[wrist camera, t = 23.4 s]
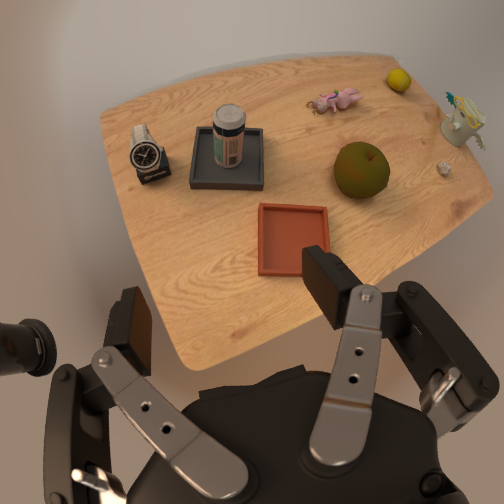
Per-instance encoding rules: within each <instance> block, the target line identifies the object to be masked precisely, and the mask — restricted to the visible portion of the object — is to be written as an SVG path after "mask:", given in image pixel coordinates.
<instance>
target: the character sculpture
mask: <svg viewBox="0 0 504 504" xmlns="http://www.w3.org/2000/svg"><path fill="white" fill-rule="evenodd" d="M446 93H447V95H448V96H447V98H448V100H449V102H451V104H453V105H454V106H455V109H454V111H452V112H451V114H450V115H449V114H447V115H446V116H447V118H446V119H445V120H444V121H443V122H442V123H441V125H440V128H441V131H442V133H443V135H444V136H445V137H446V139H447V140H448V141H449V142H450V143H451V144H452V145H454V146H456V147H460V146H461V145H462V144H463V143H465V142H466V141H467V140H468V139H469V138H470V137H471V136H475V137H476V139H477V141H476V142H478V146H480V147H481V148H482V147H483V148H484V150H485V143H484V140H483V138H482V136H481V135H479V134H477V133H476V132H477V131H478V130H479V129H480V128H481V127H482V126H483V125H484V124H486V119H485V116H484V114H483V113H482V111H481V110H480V109H479V107H478V106H477V105H476V104H475V103H474V102H473V101H471V100H470V99H468V98H464V99H463V98H461V97H458V96H456V97H454V96H453V95H452V94H451V93H449V92H446ZM456 98H458V99H459V100H460V101H461V103H460V104H459V105H457V102H456ZM462 100H463V101H462Z"/></svg>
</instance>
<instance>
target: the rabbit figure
mask: <svg viewBox="0 0 504 504" xmlns="http://www.w3.org/2000/svg"><path fill="white" fill-rule="evenodd" d="M357 93H359V91H358V90H356V89H354V88H347V89H345V90H344V91H337V90H334V91H333V92H332V93H330V94H329V95H328V96H325V95H323V94H319V96H322V97H324V98H317V99H316V100H313V101H310V102H309V103H307V104H306V105H307V107H308V108H309V106H308V105H309V104H310V103H312V105H313V107H315V108H317V109H316V110H317V112H318V113H324V112H325V111H326V110H327V108H328V107H333V108H334V113H336V106H337V107H339V108H341V109H346V108H347V106H348V105H349V104H350V103H352V102H356V101H358V100H360V99H362V98H363V96H362V95H354V94H357ZM350 95H351V96H350ZM316 110H314V111H313V115H315V111H316Z"/></svg>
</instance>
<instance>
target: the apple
mask: <svg viewBox="0 0 504 504" xmlns="http://www.w3.org/2000/svg"><path fill="white" fill-rule="evenodd" d="M334 174H335V179H336V182H337V184H338V187H339V188H340V189H341V190H342V192H343V193H344V194H346V195H347V196H349V197H351V198H357V199H364V198H369V197H373V196H374V195H376V194H377V193H379V192H380V191H382V190H383V189H384V188H385V187H386V186H387V183H388V180H389V176H390V168H389V164H388V162H387V160H386V158H385V156H384V155H383V153H382V152H381V151H380V150H379V149H378V148H376V147H375V146H373V145H371V144H368V143H365V142H354V143H351V144H348V145H346V146H345V147H343V148H342V149H341V150H340V152H339V154H338V156H337V158H336V161H335V164H334Z"/></svg>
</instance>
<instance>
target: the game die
mask: <svg viewBox="0 0 504 504" xmlns="http://www.w3.org/2000/svg"><path fill="white" fill-rule="evenodd" d="M438 170H439V172H440V174H442V175H449V173H450V171H451V167H450V165H449V163H447V162H440V164H439V165H438Z"/></svg>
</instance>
